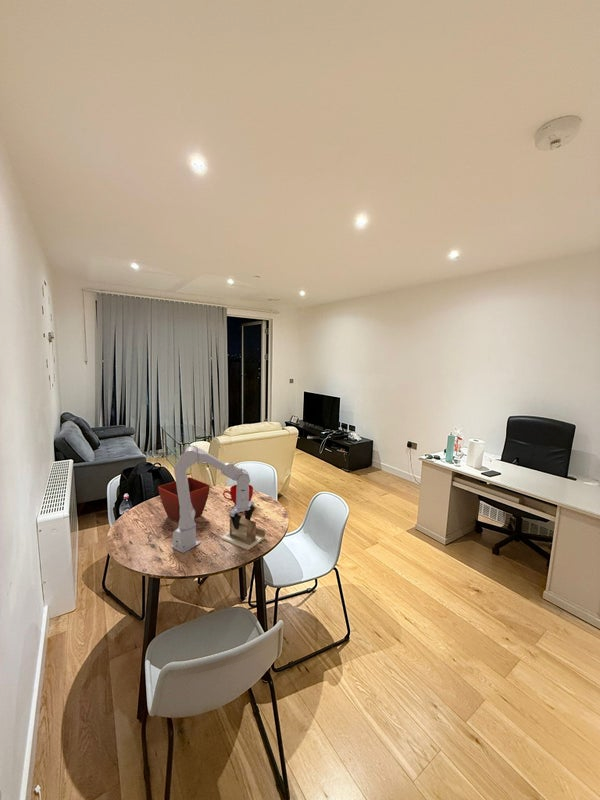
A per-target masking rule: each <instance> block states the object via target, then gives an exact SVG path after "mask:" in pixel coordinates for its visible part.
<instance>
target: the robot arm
mask: <svg viewBox="0 0 600 800" xmlns="http://www.w3.org/2000/svg"><path fill="white" fill-rule="evenodd" d="M196 463H197V464H202V463H203V464H204V463H205V464H207V465H209V466H212V467H213V468H216V469H218V470H220V472H221V475H223V476H226V477H227V478H228V479H231V480H232V481H236V485H237V488H236V505H235V506H234V508H232V510H230V511H229V514H228V516H229V519H230V518H231V520H232V522H233V525H234V529H237V530H238V529H239V522H240V518H241V517H242V515H239V513H241V512H244V518H245V519H248V520H251V519H252V516H253V514H254V511H255V501H254V500H251V501H249V485H250V482H251V478H250V474H249V472H248V471H247V470H246V469H244V468H242V467H241V468H239V467H238V466H236V465H235V463H233V462H231V463H230V462H223V461H222V460H220V459H218V458H217V457H215V456H213V455H212V454H210V453H209V452H207V451H205V450H204V449H202V448H201V447H198V446H197V445H189V446H187V447H186V448H185V449H183V451H182V452H181V454H180V456H179V457H178V460H177V461H176V462H175V465H174V467H173V472H174V480H175V481H176V486H177V492H178V499H179V505H180V519H179V523H178V527H177V528H176V529H175V530H173V532H172V545H171V548H172V549H174V550H175V551H178V552H180V553H182V554H184V553H186V552H188V551H189V550H191V549H192V548H194V547H196V546H198V545H199V544H201V541H198V540H197V522H196V521H195V519H194V517H195V514H196V512H195V510H194V509H193V507H192V503H191V499H190V493H189V486H188V479H187V478H188V473H187V470H188V469H189V468H190V467H192V466H193V465H195V464H196Z"/></svg>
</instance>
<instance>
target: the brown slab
mask: <svg viewBox="0 0 600 800" xmlns="http://www.w3.org/2000/svg"><path fill="white" fill-rule="evenodd" d="M256 527H257V522H256V521H254V520H251V519H250V520H248V519H245V517H243V516H241V518H240V522H239V529H238V530H237V529H234V525H233V522H232V520H231V518H230V517H229V532H230V536H233V537H235V538H238V539H240V540H243V541H245V542H248V543H250V542H252V541H253V540H255V539H256Z"/></svg>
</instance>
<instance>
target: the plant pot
mask: <svg viewBox="0 0 600 800" xmlns="http://www.w3.org/2000/svg"><path fill="white" fill-rule="evenodd" d="M187 479H188V486H189V493H190V499H191V503H192V507H193V509H194V510H195V512H196V514H195V517H194V520H195V519H196V518H199V517H201V516H202V515H203V513H204V510H205V508H206V505H207V502H208V497H209V494H210V488H211V487H210V486H211V484H208V483H206V482H203V481H201V480H198V479H196V478H193V477H189V476H187ZM157 489H158V493H159V498H160V501H161V504H162V507H163V509H164V511H165V514H166V516H167V518H169V519H170V520H172V521H174V522H176V523H178V524H179V519H180V505H179V499H178V492H177V486H176V480H175V481H171V482H169V483H165V484H161V485H159V486H157Z"/></svg>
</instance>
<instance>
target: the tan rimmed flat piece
mask: <svg viewBox="0 0 600 800" xmlns="http://www.w3.org/2000/svg"><path fill="white" fill-rule="evenodd" d="M265 539H266V529H264V528H261V527H258V526H256V539H255V540H253V541H252V542H250V543H248V542H245V541H243V540H240V539H238V538H235V537H233V536H230V531H229V532H227V533H225V534H224V535H223V536H221V540H223V541H226V542H227V543H231V544H232V545H235V546H237V547H239V548H243V549H245V550H247V551H249V550H251V549H252V548H254V546H256V545H258V544H259V543H260V542H262V541H263V540H265Z"/></svg>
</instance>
